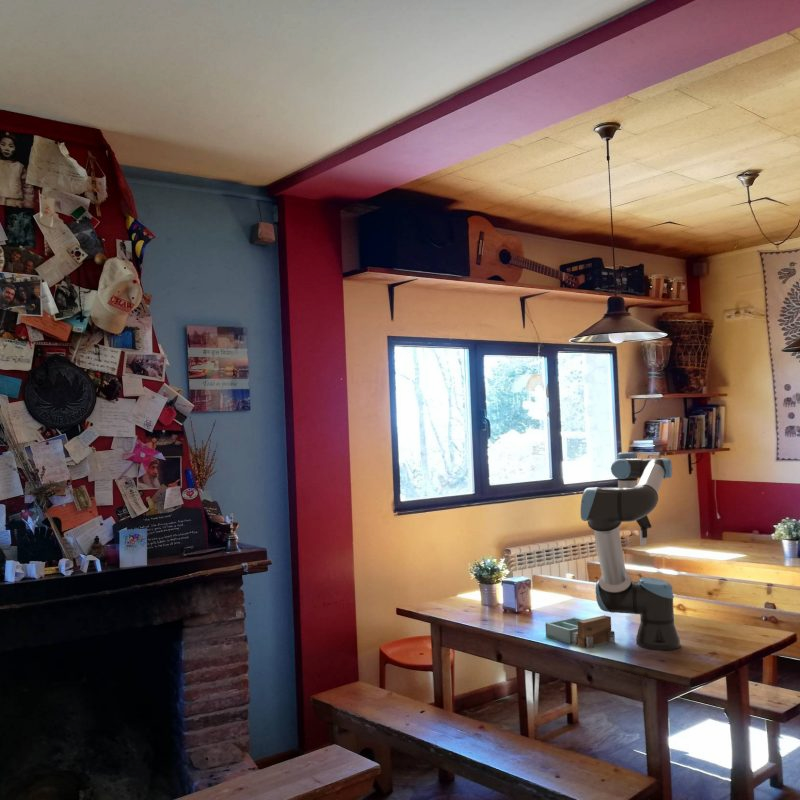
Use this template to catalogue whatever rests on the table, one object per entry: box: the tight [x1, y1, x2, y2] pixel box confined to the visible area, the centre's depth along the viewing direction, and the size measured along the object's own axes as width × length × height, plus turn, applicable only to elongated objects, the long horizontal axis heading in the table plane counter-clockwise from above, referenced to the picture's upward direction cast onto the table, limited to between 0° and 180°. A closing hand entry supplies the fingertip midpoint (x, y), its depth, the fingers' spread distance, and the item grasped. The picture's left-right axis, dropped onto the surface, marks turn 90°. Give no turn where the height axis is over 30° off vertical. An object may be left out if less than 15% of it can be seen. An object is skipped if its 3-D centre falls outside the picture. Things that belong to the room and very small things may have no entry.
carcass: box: [545, 616, 584, 645], centre depth 300 cm, size 13×15×5 cm
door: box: [577, 614, 612, 649], centre depth 290 cm, size 4×14×9 cm, turn 122°
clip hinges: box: [571, 630, 616, 650], centre depth 291 cm, size 8×13×4 cm, turn 122°
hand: (629, 544), depth 317 cm, fingers open, 13 cm apart
